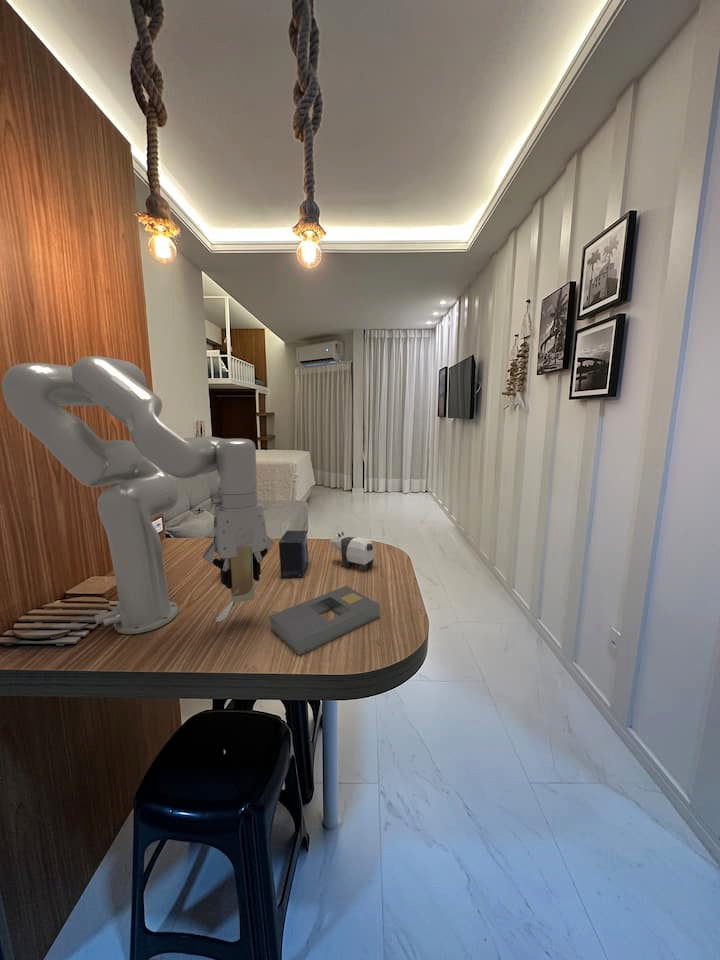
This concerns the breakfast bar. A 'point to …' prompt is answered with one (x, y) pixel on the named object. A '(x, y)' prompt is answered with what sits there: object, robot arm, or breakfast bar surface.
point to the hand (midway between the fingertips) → (241, 581)
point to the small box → (293, 554)
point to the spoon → (225, 611)
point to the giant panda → (354, 551)
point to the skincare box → (242, 574)
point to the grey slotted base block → (323, 619)
